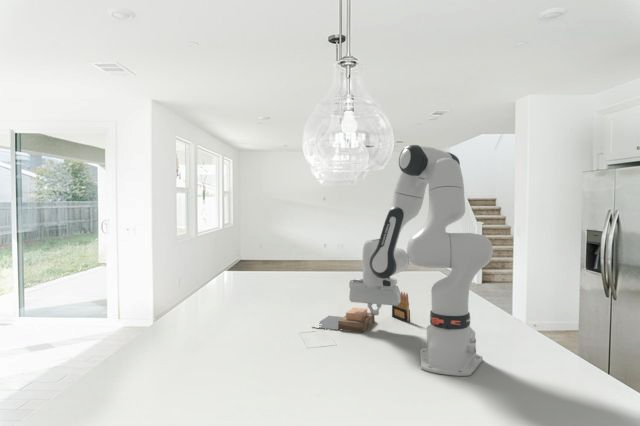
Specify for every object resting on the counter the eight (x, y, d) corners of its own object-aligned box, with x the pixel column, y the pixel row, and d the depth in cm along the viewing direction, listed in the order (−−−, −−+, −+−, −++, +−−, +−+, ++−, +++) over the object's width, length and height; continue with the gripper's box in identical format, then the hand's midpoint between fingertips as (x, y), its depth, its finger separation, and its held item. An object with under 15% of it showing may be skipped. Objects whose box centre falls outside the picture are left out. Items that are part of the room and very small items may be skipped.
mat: (337, 330, 161) (337, 329, 161) (311, 327, 165) (311, 326, 165) (352, 318, 177) (352, 317, 177) (328, 316, 182) (328, 315, 182)
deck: (362, 332, 158) (362, 323, 158) (338, 329, 162) (338, 320, 162) (374, 321, 172) (374, 313, 172) (351, 319, 176) (351, 311, 176)
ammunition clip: (410, 322, 171) (410, 293, 170) (406, 322, 170) (406, 293, 170) (395, 316, 180) (395, 288, 180) (391, 316, 180) (391, 289, 179)
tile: (360, 320, 162) (360, 314, 162) (346, 319, 164) (346, 312, 164) (367, 314, 170) (367, 308, 170) (353, 313, 172) (353, 307, 172)
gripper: (346, 279, 165) (347, 314, 165) (397, 282, 157) (398, 319, 157) (351, 277, 171) (352, 310, 171) (401, 279, 163) (401, 315, 163)
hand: (374, 314), depth 164 cm, fingers closed
